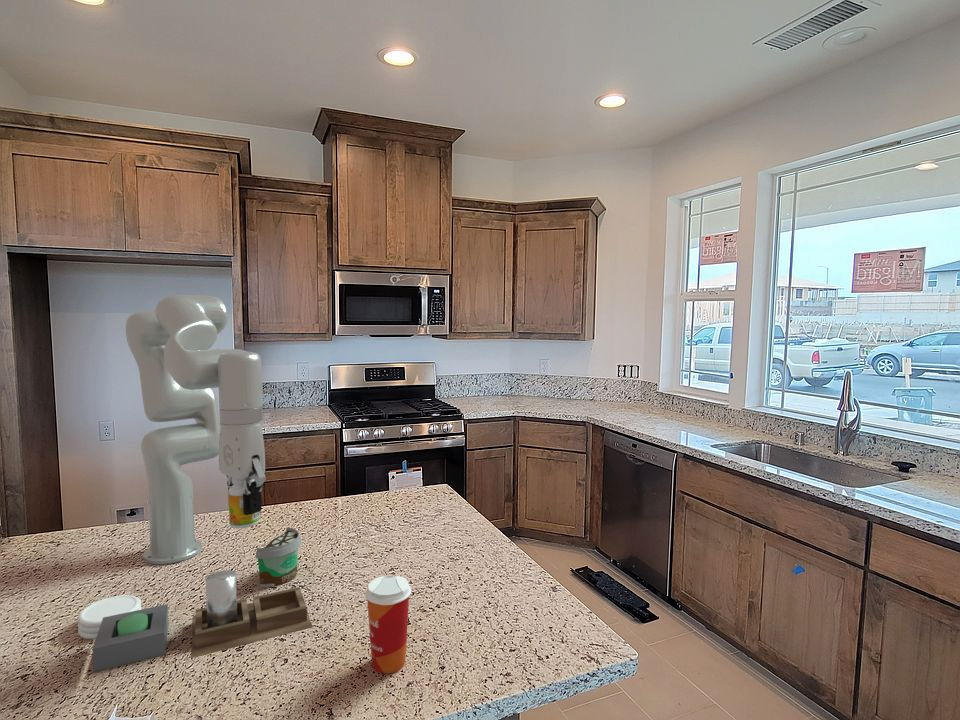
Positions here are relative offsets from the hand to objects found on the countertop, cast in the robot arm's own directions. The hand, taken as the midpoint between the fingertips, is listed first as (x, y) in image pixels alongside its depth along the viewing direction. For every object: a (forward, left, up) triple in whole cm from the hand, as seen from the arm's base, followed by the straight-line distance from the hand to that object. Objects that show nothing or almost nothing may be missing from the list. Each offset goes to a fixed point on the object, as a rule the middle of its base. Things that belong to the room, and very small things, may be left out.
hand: (244, 508), depth 102 cm
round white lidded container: (-9, -24, -22) cm, 34 cm away
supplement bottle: (0, 0, -3) cm, 3 cm away
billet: (+4, -5, -21) cm, 22 cm away
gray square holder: (+3, -19, -22) cm, 29 cm away
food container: (-11, +8, -22) cm, 26 cm away
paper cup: (+26, +20, -22) cm, 40 cm away
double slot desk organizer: (+4, 0, -22) cm, 22 cm away
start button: (+3, -19, -21) cm, 28 cm away
